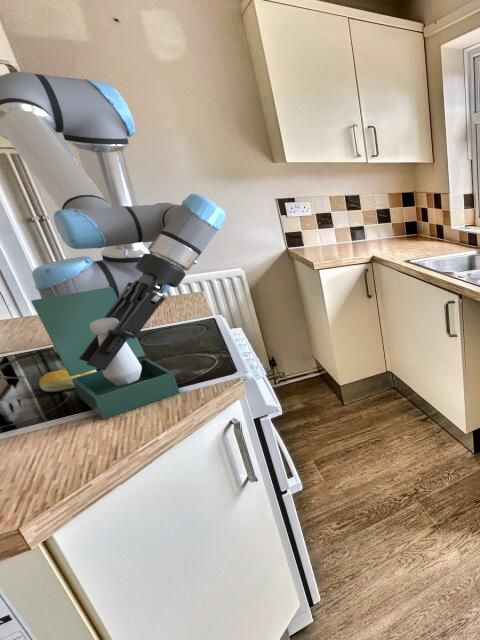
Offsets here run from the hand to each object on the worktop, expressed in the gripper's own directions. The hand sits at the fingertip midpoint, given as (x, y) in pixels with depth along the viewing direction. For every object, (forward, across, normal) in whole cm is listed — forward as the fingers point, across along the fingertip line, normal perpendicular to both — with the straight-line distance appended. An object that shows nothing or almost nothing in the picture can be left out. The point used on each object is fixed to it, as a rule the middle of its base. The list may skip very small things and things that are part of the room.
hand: (92, 364), depth 80 cm
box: (+4, +2, -9) cm, 10 cm away
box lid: (-5, +12, 0) cm, 13 cm away
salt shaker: (+1, 0, -6) cm, 7 cm away
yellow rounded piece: (+8, +21, -6) cm, 23 cm away
